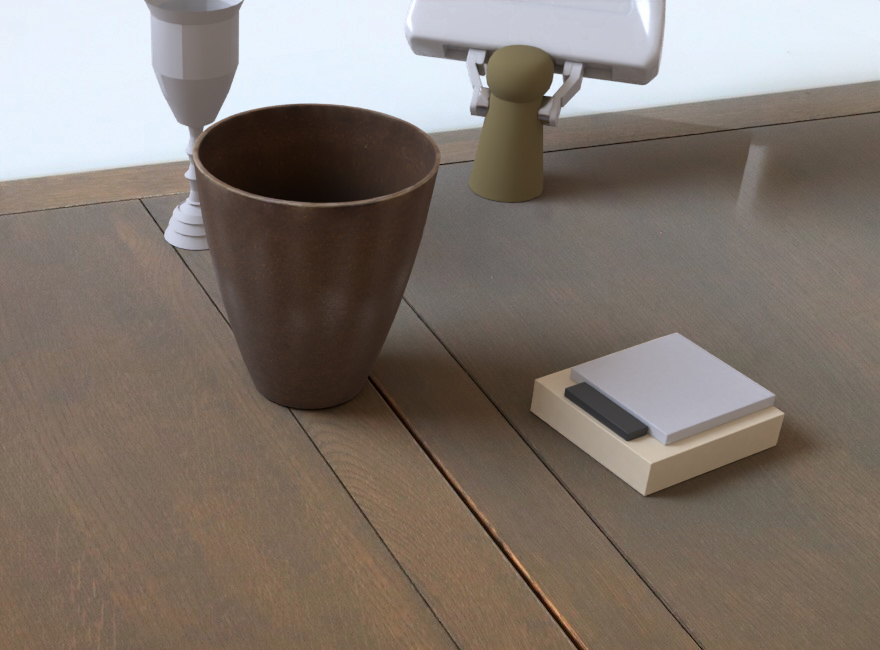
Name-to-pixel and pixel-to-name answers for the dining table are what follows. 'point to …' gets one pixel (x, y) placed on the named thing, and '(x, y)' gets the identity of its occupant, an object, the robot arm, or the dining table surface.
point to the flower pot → (313, 239)
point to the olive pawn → (513, 126)
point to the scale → (659, 412)
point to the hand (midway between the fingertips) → (513, 118)
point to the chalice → (193, 84)
